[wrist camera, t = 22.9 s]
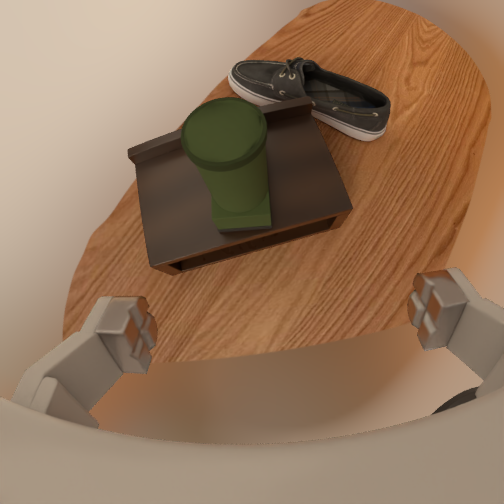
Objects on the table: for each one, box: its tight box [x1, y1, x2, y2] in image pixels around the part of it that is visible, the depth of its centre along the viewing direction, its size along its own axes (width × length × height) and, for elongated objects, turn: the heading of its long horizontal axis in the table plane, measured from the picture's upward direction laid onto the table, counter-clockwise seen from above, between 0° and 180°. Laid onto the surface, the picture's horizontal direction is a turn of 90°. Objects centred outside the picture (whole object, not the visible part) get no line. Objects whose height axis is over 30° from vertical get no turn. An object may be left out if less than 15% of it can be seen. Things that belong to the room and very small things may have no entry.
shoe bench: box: [128, 96, 353, 276], centre depth 33 cm, size 14×22×9 cm, turn 105°
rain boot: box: [181, 97, 272, 232], centre depth 24 cm, size 11×6×13 cm, turn 3°
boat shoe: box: [228, 57, 391, 141], centre depth 36 cm, size 26×9×8 cm, turn 58°
